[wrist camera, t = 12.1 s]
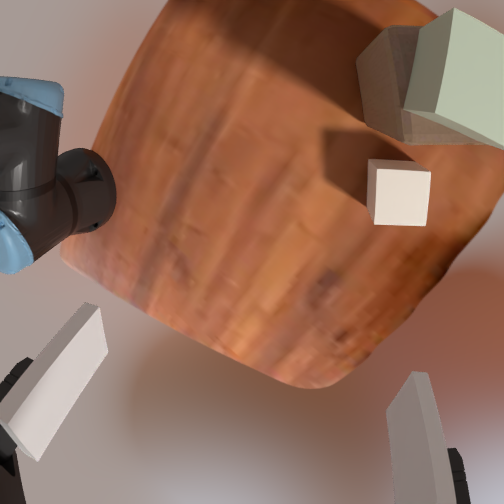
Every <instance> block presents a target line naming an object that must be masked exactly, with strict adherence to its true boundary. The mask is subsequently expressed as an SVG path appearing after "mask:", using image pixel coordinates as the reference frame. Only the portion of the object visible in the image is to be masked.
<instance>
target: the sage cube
mask: <svg viewBox="0 0 504 504" xmlns="http://www.w3.org/2000/svg"><path fill="white" fill-rule="evenodd" d="M403 109H404V110H406V111H409V112H412V113H414V114H417V115H419V116H422V117H425V118H427V119H430V120H432V121H434V122H437V123H439V124H442V125H444V126H446V127H449V128H451V129H453V130H455V131H458V132H460V133H462V134H464V135H466V136H468V137H470V138H473V139H475V140H477V141H479V142H482V143H485V144H488V145H491V146H494V147H497V148H500V149H502V150H504V35H503V34H501V33H499V32H498V31H496V30H495V29H493V28H491V27H490V26H488V25H486V24H484V23H483V22H481V21H479V20H477V19H475V18H473V17H472V16H469V15H468V14H466V13H464V12H462V11H460V10H458V9H456V8H452V9H451V10H449V11H448V12H446V13H445V14H443V15H441V16H439V17H438V18H436V19H435V20H433V21H432V22H430V23H428V24H427V25H425V26H424V27H422V28H421V29H420V30H419V36H418V42H417V47H416V53H415V58H414V63H413V68H412V73H411V77H410V82H409V87H408V91H407V95H406V99H405V104H404V108H403Z"/></svg>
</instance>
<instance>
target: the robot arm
mask: <svg viewBox="0 0 504 504" xmlns="http://www.w3.org/2000/svg"><path fill="white" fill-rule="evenodd" d="M63 100H64V91H63V88H62V86H61V85H60V84H59V83H57V82H52V81H44V80H36V79H28V78H17V77H4V76H0V272H2V273H5V274H15V273H17V272H19V271H20V270H22V269H23V268H25V267H26V266H30V265H31V264H32V263H33V262H34V261H36V260H37V259H38V258H40V257H41V256H42V255H44V254H45V253H46V252H48V251H49V250H50V249H52V248H53V247H54V246H56V245H57V244H59V243H60V242H61V241H63V240H64V239H65V238H67V237H68V236H70V235H76V234H82V233H88V232H92V231H94V230H96V229H98V228H99V227H101V226H102V225H104V224H105V223H106V222H107V221H108V220H109V219H110V217H111V216H112V214H113V211H114V209H115V204H116V186H115V182H114V178H113V175H112V173H111V171H110V169H109V167H108V165H107V164H106V163H105V161H104V160H103V159H102V158H101V157H100V156H99V155H98V154H96V153H95V152H93V151H91V150H88V149H85V148H77V149H73V150H70V151H66V152H64V153H62V154H61V155H59V156H58V147H59V137H60V127H61V119H62V118H63V113H62V110H63ZM107 354H108V349H107V344H106V339H105V335H104V329H103V324H102V318H101V313H100V307H98V306H95V305H92V304H89V303H86V302H85V303H84V304H83V305H82V306H81V307H80V309H78V311H77V312H76V313H75V314H74V315H73V316H72V317H71V318H70V320H69V321H68V322H67V323H66V324H65V325H64V326H63V327H62V328H61V330H60V331H59V332H58V333H57V334H56V335H55V336H54V338H53V339H52V340H51V341H50V342H49V343H48V344H47V346H46V347H45V348H44V349H43V350H42V352H41V353H40V354H39V355H38V356H37V357H36V359H35V360H32V359H30V358H28V357H27V358H25V359H24V360H22V361H20V362H19V363H17V364H16V365H15V367H14V368H13V369H12V370H11V372H10V374H8V375H7V376H6V377H5V379H4V381H2V382H1V384H0V504H26V501H25V496H24V492H23V488H22V482H21V477H20V472H19V466H18V460H17V454H16V451H15V449H16V447H17V446H18V447H19V448H20V449H21V450H22V452H23V453H25V454H26V455H28V456H29V457H31V458H33V459H34V460H36V461H39V459H40V457H41V456H42V454H43V453H44V451H45V449H46V447H47V446H48V444H49V443H50V441H51V439H52V438H53V436H54V435H55V433H56V431H57V430H58V428H59V427H60V425H61V423H62V422H63V420H64V419H65V417H66V415H67V414H68V412H69V411H70V409H71V408H72V406H73V404H74V403H75V401H76V400H77V398H78V397H79V395H80V394H81V392H82V391H83V389H84V388H85V386H86V385H87V383H88V382H89V380H90V379H91V377H92V375H93V374H94V373H95V371H96V370H97V368H98V367H99V365H100V364H101V362H102V361H103V359H104V358H105V356H106V355H107ZM386 416H387V423H388V432H389V440H390V449H391V459H392V471H393V483H394V499H395V504H471V502H470V497H469V490H468V485H467V481H466V474H465V472H464V470H465V469H464V465H463V460H462V457H461V456H460V454H459V452H458V451H457V449H456V448H448V449H447V447H446V442H445V438H444V433H443V429H442V425H441V420H440V416H439V413H438V409H437V405H436V401H435V398H434V394H433V390H432V387H431V383H430V380H429V376H428V373H424V372H412V373H411V374H410V376H409V377H408V379H407V380H406V382H405V383H404V385H403V386H402V388H401V390H400V391H399V393H398V394H397V395H396V397H395V398H394V400H393V401H392V403H391V404H390V405H389V407H388V408H387V410H386Z"/></svg>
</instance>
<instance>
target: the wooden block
mask: <svg viewBox="0 0 504 504" xmlns="http://www.w3.org/2000/svg"><path fill="white" fill-rule="evenodd" d="M422 27H424V26H403V25H392V26H389V27H387V28H385V29H384V30H383V31H382V32H381V33H380V34H379V35H378V36H377V37H376V38H375V39H374V40H373V41H372V42H371V43H370V44H369V45H368V46H367V48H366V49H365V50H364V51H363V52H362V53H361V54H360V55H359V56H358V57H357V59H356V69H357V74H358V80H359V86H360V93H361V99H362V106H363V114H364V121H365V123H366V125H367V126H368V127H370V128H373V129H375V130H377V131H379V132H381V133H384V134H386V135H388V136H390V137H392V138H394V139H396V140H398V141H400V142H403V143H405V144H408V145H488V144H485V143H482V142H479V141H477V140H475V139H473V138H470V137H468V136H466V135H464V134H462V133H460V132H458V131H455V130H453V129H451V128H449V127H446V126H444V125H442V124H439V123H437V122H434V121H432V120H430V119H427V118H425V117H422V116H419V115H417V114H414V113H412V112H409V111H406V110H404V109H403V108H404V104H405V99H406V95H407V91H408V87H409V82H410V77H411V73H412V68H413V63H414V58H415V53H416V47H417V42H418V36H419V30H420V29H421V28H422Z"/></svg>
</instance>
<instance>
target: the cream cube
mask: <svg viewBox="0 0 504 504" xmlns="http://www.w3.org/2000/svg"><path fill="white" fill-rule="evenodd" d="M430 179H431V172H430V171H429V170H427V169H426V168H424V167H423V166H421V165H420V164H418V163H417V162H415V161H401V160H383V159H368V183H367V209H368V211H369V214H370V216H371V218H372V221H373V223H374V224H379V225H411V226H426V219H427V211H428V201H429V191H430Z"/></svg>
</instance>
